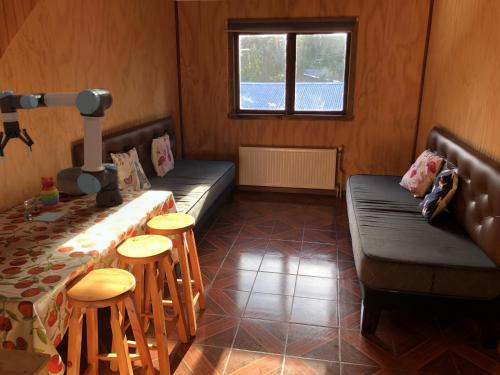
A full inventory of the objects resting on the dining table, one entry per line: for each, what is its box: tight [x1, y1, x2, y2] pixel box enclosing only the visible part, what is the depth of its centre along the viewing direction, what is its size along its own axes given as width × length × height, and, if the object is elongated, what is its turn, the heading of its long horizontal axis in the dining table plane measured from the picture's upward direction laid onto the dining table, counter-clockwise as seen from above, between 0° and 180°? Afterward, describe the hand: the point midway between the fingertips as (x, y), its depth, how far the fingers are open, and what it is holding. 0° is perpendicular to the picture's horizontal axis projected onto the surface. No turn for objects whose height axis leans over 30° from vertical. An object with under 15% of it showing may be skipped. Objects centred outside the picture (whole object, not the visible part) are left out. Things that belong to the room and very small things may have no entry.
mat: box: [31, 211, 68, 223], centre depth 220 cm, size 12×12×1 cm
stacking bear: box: [39, 175, 65, 211], centre depth 234 cm, size 11×10×18 cm
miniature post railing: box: [23, 196, 41, 222], centre depth 221 cm, size 8×16×9 cm, turn 170°
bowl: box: [56, 166, 85, 196], centre depth 260 cm, size 21×21×15 cm
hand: (17, 160), depth 230 cm, fingers open, 13 cm apart
